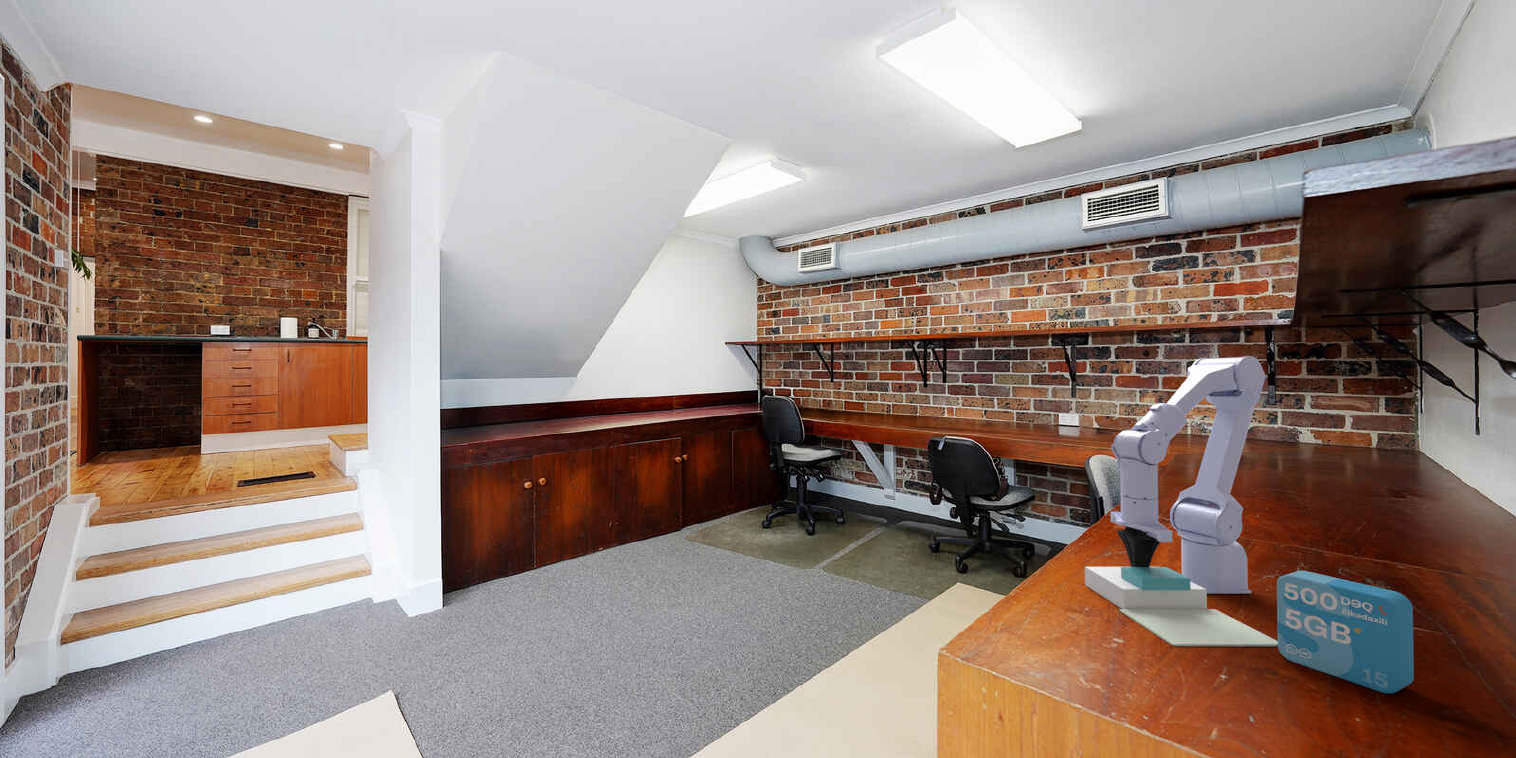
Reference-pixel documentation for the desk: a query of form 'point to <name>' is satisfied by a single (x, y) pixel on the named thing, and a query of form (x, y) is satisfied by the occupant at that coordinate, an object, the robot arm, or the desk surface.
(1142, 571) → the tile
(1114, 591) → the white flat block
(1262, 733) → the desk surface
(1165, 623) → the mat
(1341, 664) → the data package
